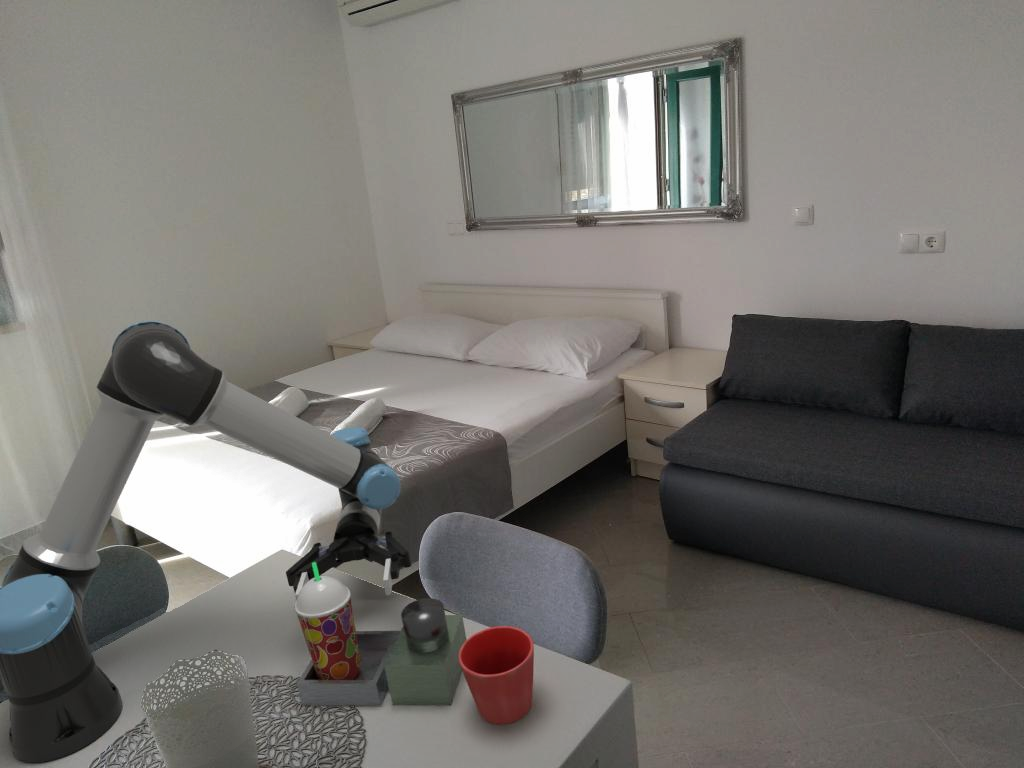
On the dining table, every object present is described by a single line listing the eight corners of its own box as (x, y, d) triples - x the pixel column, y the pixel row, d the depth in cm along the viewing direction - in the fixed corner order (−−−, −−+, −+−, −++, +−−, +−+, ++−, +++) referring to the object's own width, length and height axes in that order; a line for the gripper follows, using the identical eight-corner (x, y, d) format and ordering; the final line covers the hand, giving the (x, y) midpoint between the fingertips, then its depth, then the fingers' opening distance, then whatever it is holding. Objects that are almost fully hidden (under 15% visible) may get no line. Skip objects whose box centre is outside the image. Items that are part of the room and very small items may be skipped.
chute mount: (302, 705, 115) (285, 638, 111) (333, 651, 126) (319, 589, 123) (450, 706, 110) (437, 636, 107) (469, 651, 122) (457, 586, 118)
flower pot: (453, 723, 107) (443, 665, 104) (491, 673, 116) (482, 619, 113) (520, 742, 102) (511, 682, 99) (553, 689, 111) (546, 632, 108)
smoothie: (333, 654, 124) (306, 547, 118) (377, 660, 121) (352, 550, 115) (303, 689, 117) (273, 576, 111) (349, 697, 114) (321, 581, 108)
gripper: (429, 537, 139) (427, 602, 119) (293, 559, 138) (267, 628, 118) (422, 500, 137) (419, 560, 117) (284, 522, 136) (256, 586, 115)
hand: (343, 594), depth 117 cm, fingers open, 13 cm apart
